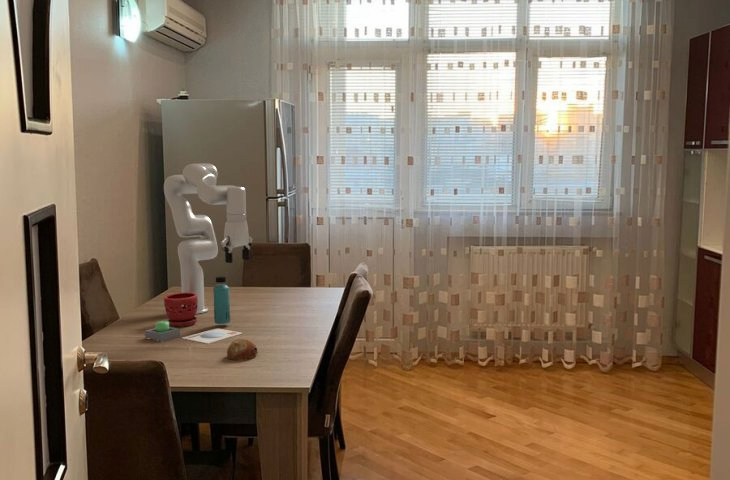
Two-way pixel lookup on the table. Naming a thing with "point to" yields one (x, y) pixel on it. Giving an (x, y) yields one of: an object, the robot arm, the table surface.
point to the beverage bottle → (221, 302)
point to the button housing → (162, 334)
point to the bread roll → (241, 350)
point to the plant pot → (181, 308)
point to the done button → (162, 326)
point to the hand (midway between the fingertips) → (237, 261)
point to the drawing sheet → (212, 335)
